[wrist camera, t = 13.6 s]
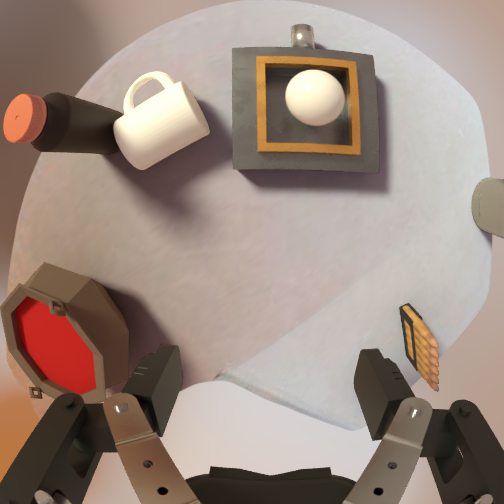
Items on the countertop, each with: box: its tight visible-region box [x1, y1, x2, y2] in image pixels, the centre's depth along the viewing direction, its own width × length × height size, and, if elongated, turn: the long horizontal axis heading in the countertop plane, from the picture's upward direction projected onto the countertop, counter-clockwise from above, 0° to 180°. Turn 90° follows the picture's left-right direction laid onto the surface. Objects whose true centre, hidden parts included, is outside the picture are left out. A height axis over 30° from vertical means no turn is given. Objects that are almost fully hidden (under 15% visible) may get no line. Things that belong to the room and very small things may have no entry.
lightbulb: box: [285, 70, 345, 126], centre depth 30 cm, size 6×6×11 cm
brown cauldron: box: [0, 262, 129, 404], centre depth 39 cm, size 24×24×16 cm
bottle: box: [4, 92, 123, 154], centre depth 29 cm, size 7×7×20 cm
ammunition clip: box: [399, 303, 439, 392], centre depth 38 cm, size 11×2×12 cm, turn 21°
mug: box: [113, 71, 210, 170], centre depth 34 cm, size 12×10×8 cm
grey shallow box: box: [232, 24, 379, 173], centre depth 33 cm, size 18×20×6 cm
